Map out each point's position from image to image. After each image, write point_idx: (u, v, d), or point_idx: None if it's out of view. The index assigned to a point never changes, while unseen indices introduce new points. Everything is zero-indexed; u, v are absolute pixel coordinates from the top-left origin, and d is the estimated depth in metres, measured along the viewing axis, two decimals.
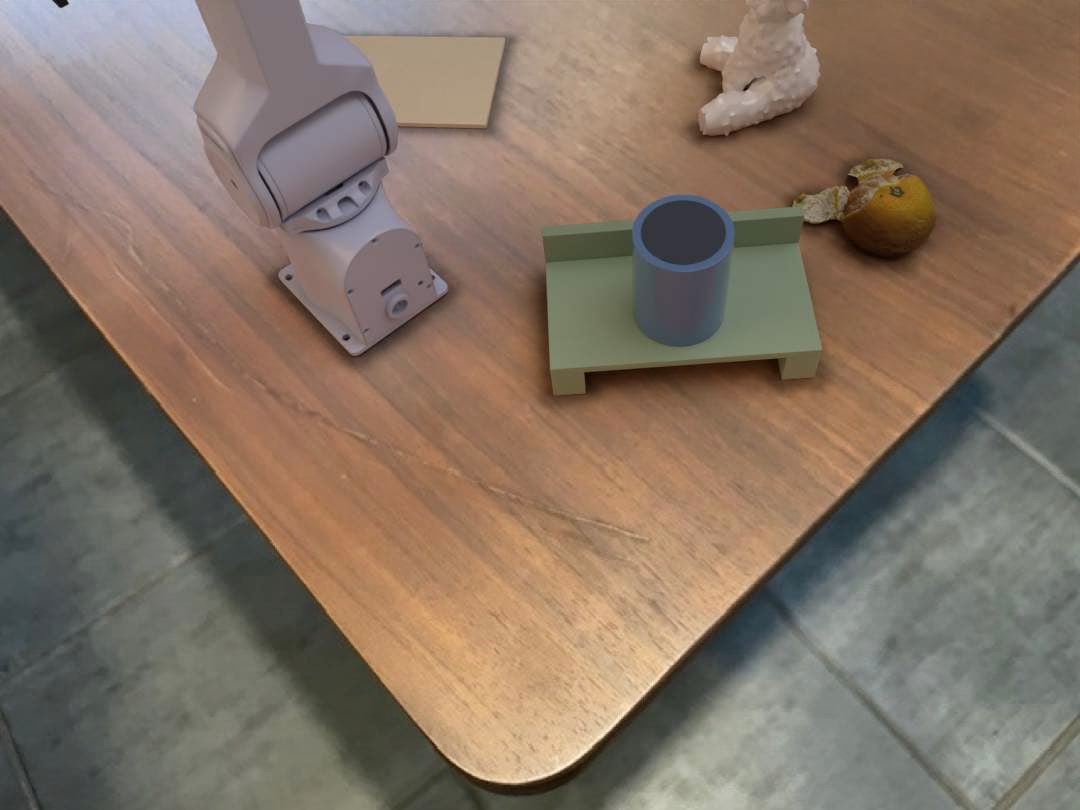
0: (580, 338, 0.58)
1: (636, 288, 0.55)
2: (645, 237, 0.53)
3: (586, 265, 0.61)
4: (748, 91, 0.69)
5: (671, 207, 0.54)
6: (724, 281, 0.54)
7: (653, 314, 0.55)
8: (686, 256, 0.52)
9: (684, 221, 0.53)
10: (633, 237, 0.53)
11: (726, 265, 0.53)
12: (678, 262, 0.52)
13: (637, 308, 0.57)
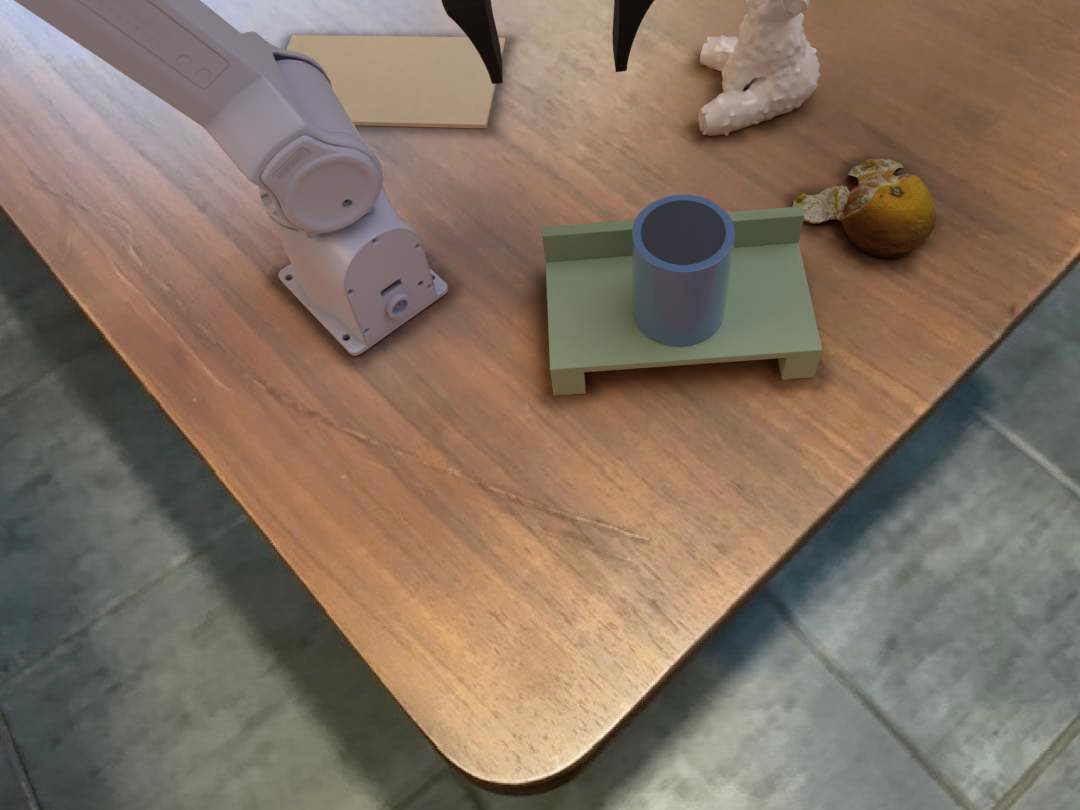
0: (580, 338, 0.58)
1: (636, 288, 0.55)
2: (645, 237, 0.53)
3: (586, 265, 0.61)
4: (748, 91, 0.69)
5: (671, 207, 0.54)
6: (724, 281, 0.54)
7: (653, 314, 0.55)
8: (686, 256, 0.52)
9: (684, 221, 0.53)
10: (633, 237, 0.53)
11: (726, 265, 0.53)
12: (678, 262, 0.52)
13: (637, 308, 0.57)
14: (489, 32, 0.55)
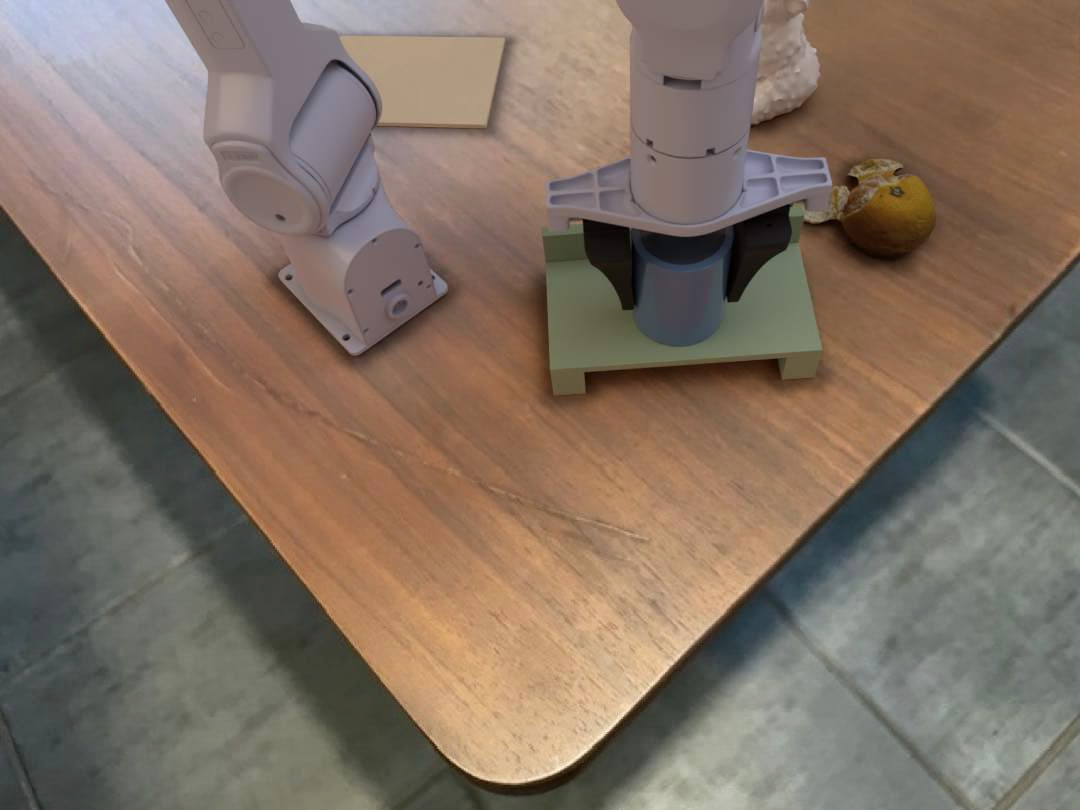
0: (580, 338, 0.58)
1: (635, 288, 0.55)
2: (645, 237, 0.53)
3: (586, 265, 0.61)
4: None
5: None
6: (723, 281, 0.54)
7: (652, 314, 0.55)
8: (685, 256, 0.52)
9: None
10: (632, 237, 0.53)
11: (725, 265, 0.53)
12: (677, 262, 0.52)
13: (636, 308, 0.57)
14: (630, 274, 0.53)
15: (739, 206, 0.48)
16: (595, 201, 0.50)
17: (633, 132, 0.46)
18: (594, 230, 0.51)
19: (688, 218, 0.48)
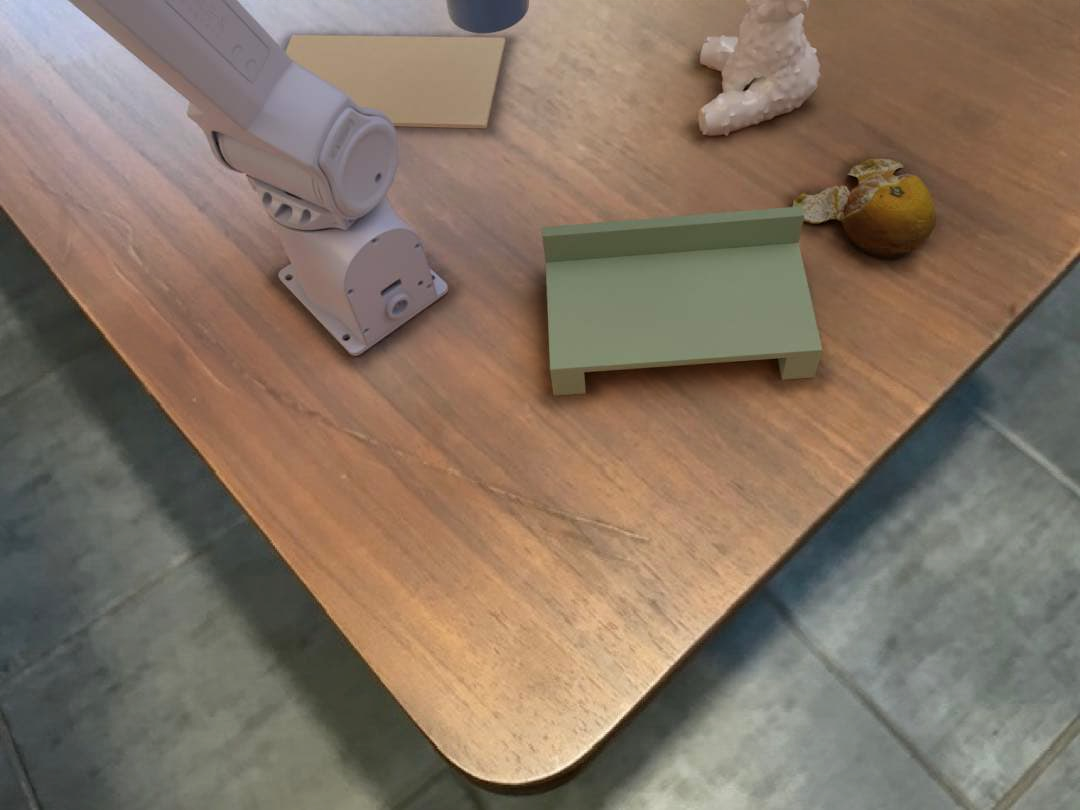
0: (580, 338, 0.58)
1: None
2: None
3: (586, 265, 0.61)
4: (748, 91, 0.69)
5: None
6: None
7: None
8: None
9: None
10: None
11: None
12: None
13: None
14: None
15: None
16: None
17: None
18: None
19: None
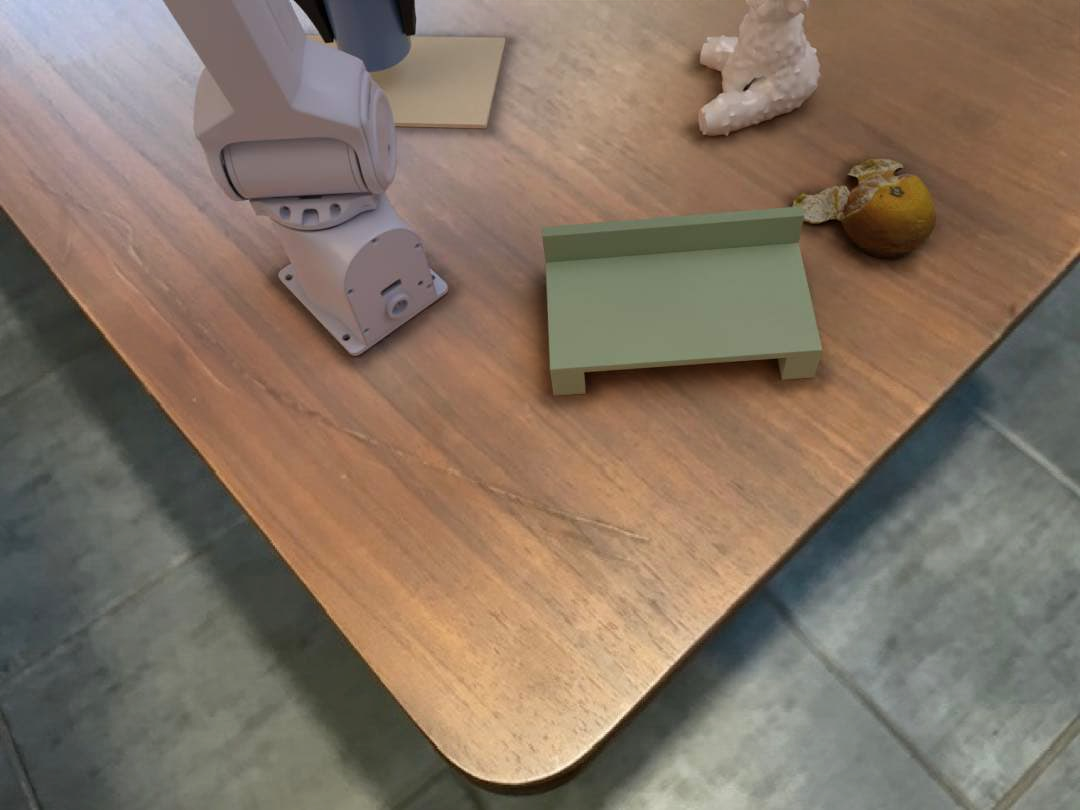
0: (580, 338, 0.58)
1: (328, 19, 0.70)
2: None
3: (586, 265, 0.61)
4: (748, 91, 0.69)
5: None
6: (390, 7, 0.69)
7: (341, 39, 0.70)
8: None
9: None
10: None
11: None
12: None
13: None
14: None
15: None
16: None
17: None
18: None
19: None
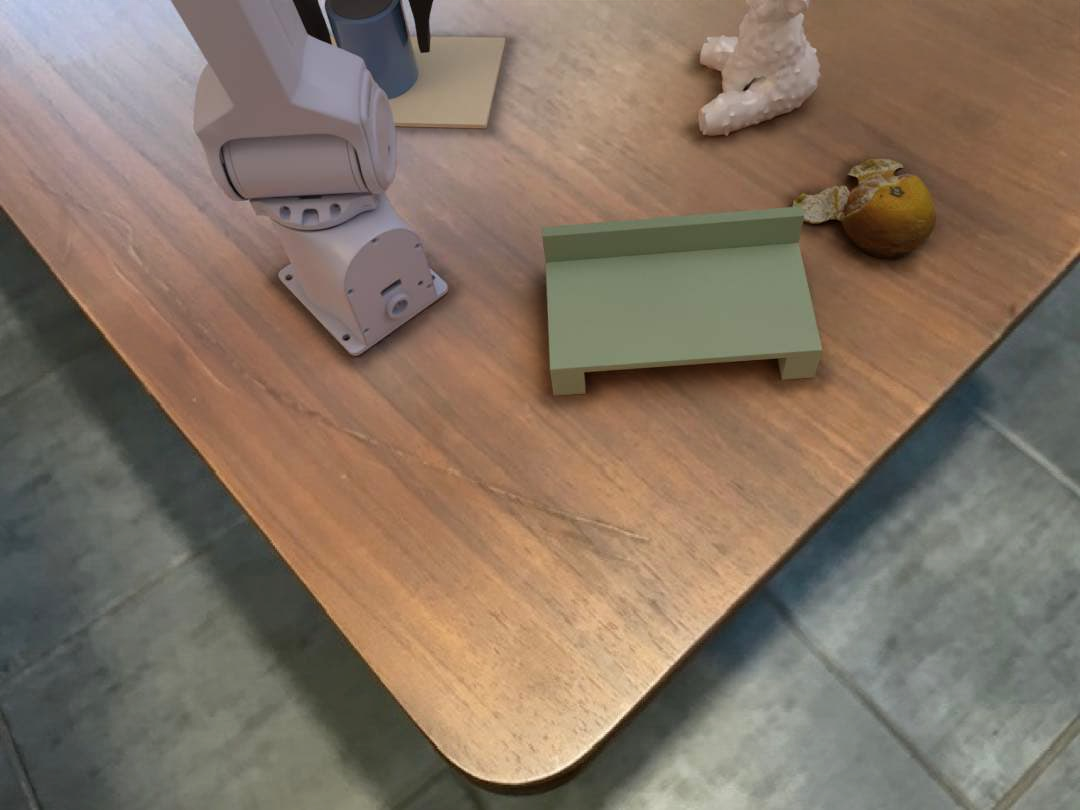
0: (580, 338, 0.58)
1: None
2: (334, 2, 0.70)
3: (586, 265, 0.61)
4: (748, 91, 0.69)
5: None
6: (398, 39, 0.71)
7: None
8: (360, 13, 0.69)
9: None
10: (325, 3, 0.70)
11: (394, 23, 0.70)
12: (353, 17, 0.69)
13: None
14: (308, 19, 0.69)
15: None
16: None
17: None
18: None
19: None
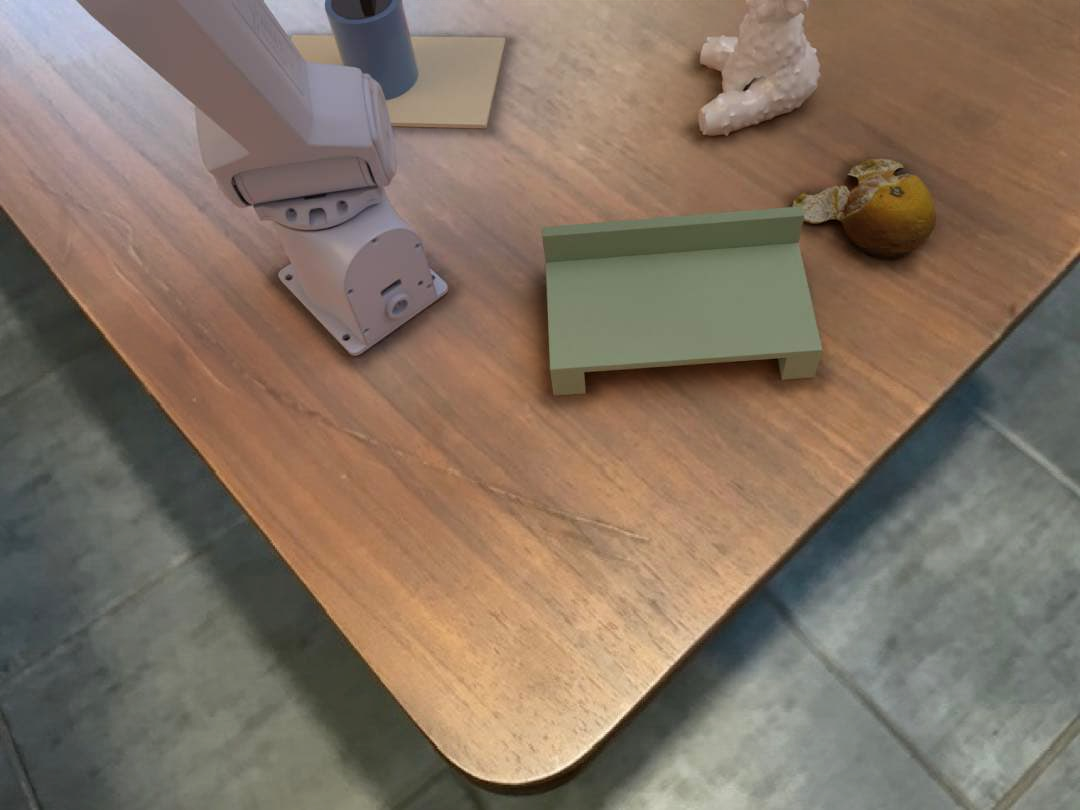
0: (580, 338, 0.58)
1: (338, 50, 0.73)
2: (334, 2, 0.70)
3: (586, 265, 0.61)
4: (748, 91, 0.69)
5: None
6: (398, 39, 0.71)
7: None
8: (360, 13, 0.69)
9: None
10: (325, 3, 0.70)
11: (394, 23, 0.70)
12: (353, 17, 0.69)
13: None
14: None
15: None
16: None
17: None
18: None
19: None
